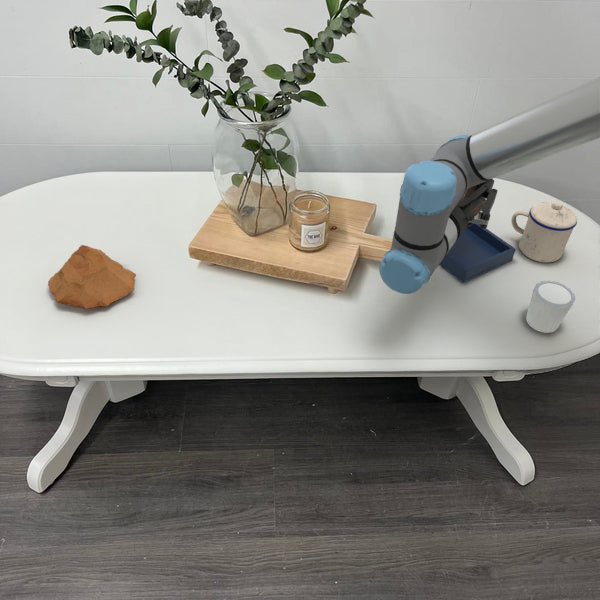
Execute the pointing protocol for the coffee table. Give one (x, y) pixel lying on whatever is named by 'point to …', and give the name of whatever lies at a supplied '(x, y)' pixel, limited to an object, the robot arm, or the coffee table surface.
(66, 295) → the stone
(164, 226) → the coffee table surface
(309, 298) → the coffee table surface
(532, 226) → the teacup with lid
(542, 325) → the white short cylinder
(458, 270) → the tray
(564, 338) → the coffee table surface
